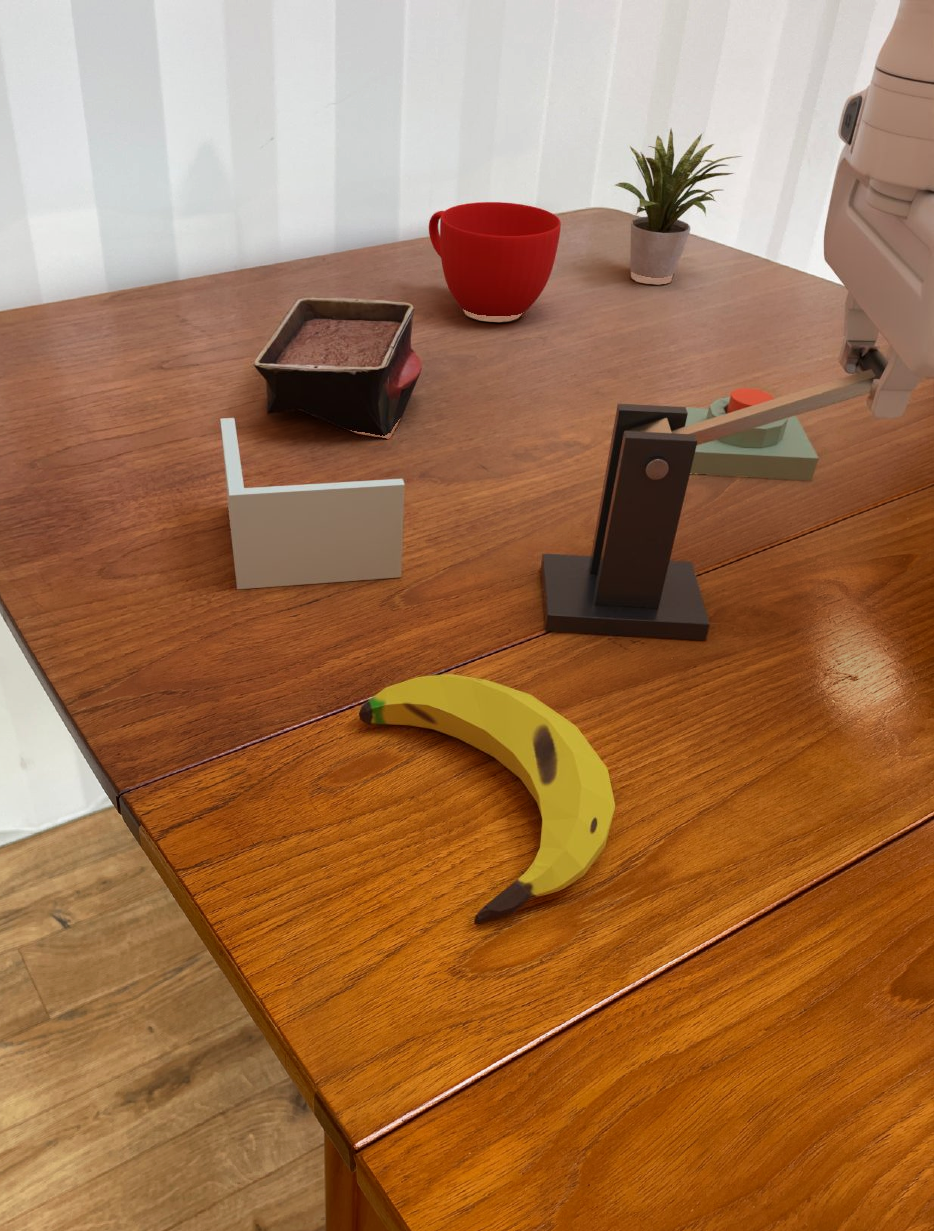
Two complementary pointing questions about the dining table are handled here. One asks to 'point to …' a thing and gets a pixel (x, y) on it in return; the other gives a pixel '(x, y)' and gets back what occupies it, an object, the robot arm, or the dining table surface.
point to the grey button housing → (754, 449)
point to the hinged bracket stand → (633, 542)
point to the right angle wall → (311, 528)
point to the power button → (746, 399)
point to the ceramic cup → (495, 254)
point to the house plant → (666, 207)
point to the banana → (517, 769)
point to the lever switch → (781, 404)
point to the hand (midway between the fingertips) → (867, 390)
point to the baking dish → (343, 362)
